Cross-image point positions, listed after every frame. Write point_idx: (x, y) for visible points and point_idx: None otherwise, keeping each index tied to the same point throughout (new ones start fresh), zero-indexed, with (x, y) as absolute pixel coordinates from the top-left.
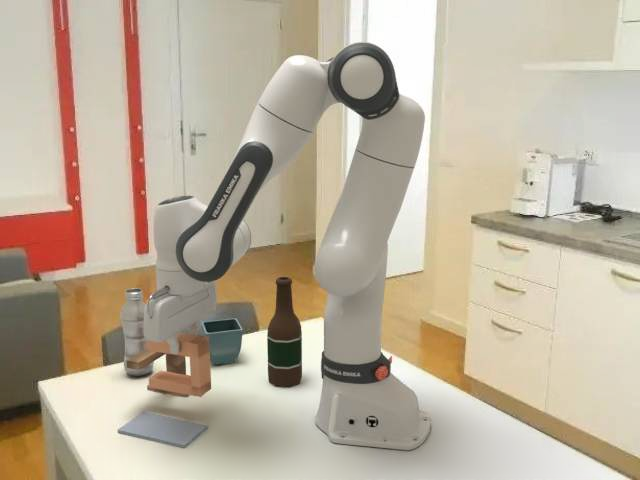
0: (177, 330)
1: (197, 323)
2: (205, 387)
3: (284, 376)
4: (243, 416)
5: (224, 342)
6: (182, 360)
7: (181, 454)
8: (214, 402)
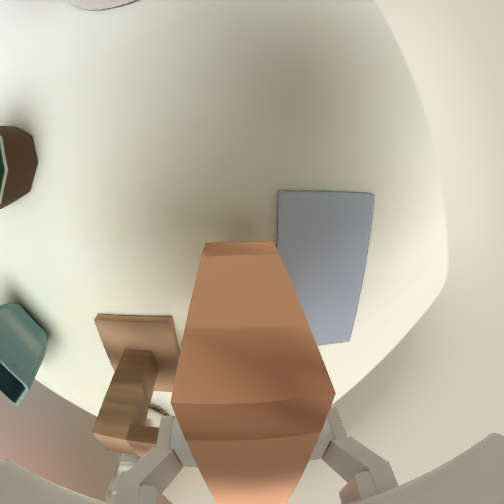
0: (410, 497)
1: (141, 495)
2: (242, 249)
3: (17, 144)
4: (188, 139)
5: (10, 343)
6: (120, 386)
7: (390, 187)
8: (157, 248)
